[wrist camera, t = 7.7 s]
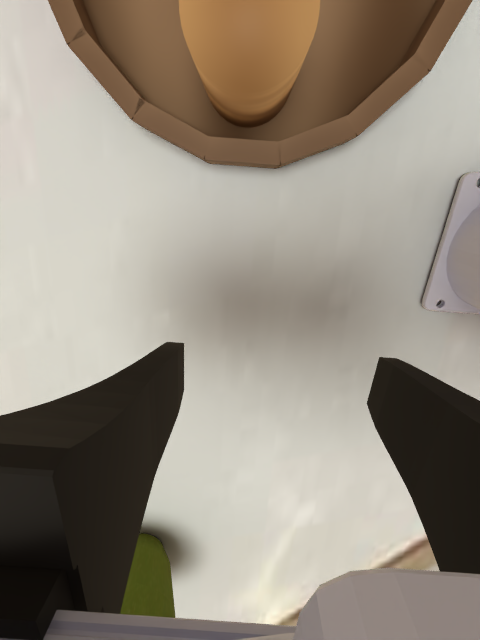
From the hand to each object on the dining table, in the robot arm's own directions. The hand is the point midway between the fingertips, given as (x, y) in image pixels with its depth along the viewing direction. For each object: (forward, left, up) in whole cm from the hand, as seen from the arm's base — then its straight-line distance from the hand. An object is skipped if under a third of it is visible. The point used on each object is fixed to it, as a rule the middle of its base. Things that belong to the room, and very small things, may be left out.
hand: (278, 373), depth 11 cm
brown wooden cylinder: (+2, -11, -9) cm, 15 cm away
